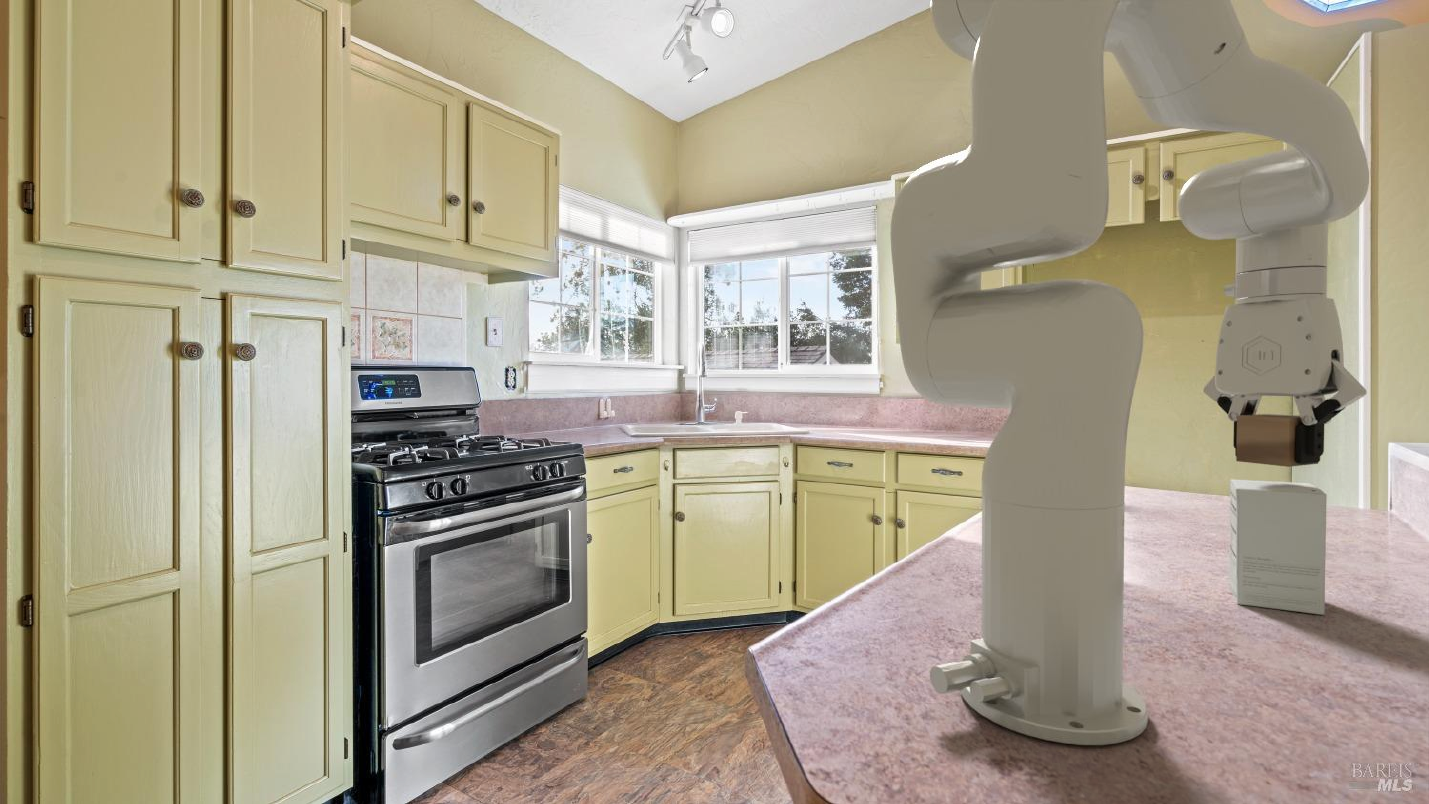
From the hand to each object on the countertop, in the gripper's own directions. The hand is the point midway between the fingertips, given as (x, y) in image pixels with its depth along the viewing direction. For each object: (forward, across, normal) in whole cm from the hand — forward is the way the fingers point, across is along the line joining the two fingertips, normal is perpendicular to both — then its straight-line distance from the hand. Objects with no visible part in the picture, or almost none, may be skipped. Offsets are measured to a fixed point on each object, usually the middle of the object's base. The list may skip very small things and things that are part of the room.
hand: (1276, 457), depth 73 cm
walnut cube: (+1, 0, 0) cm, 1 cm away
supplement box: (+16, 0, 0) cm, 16 cm away
